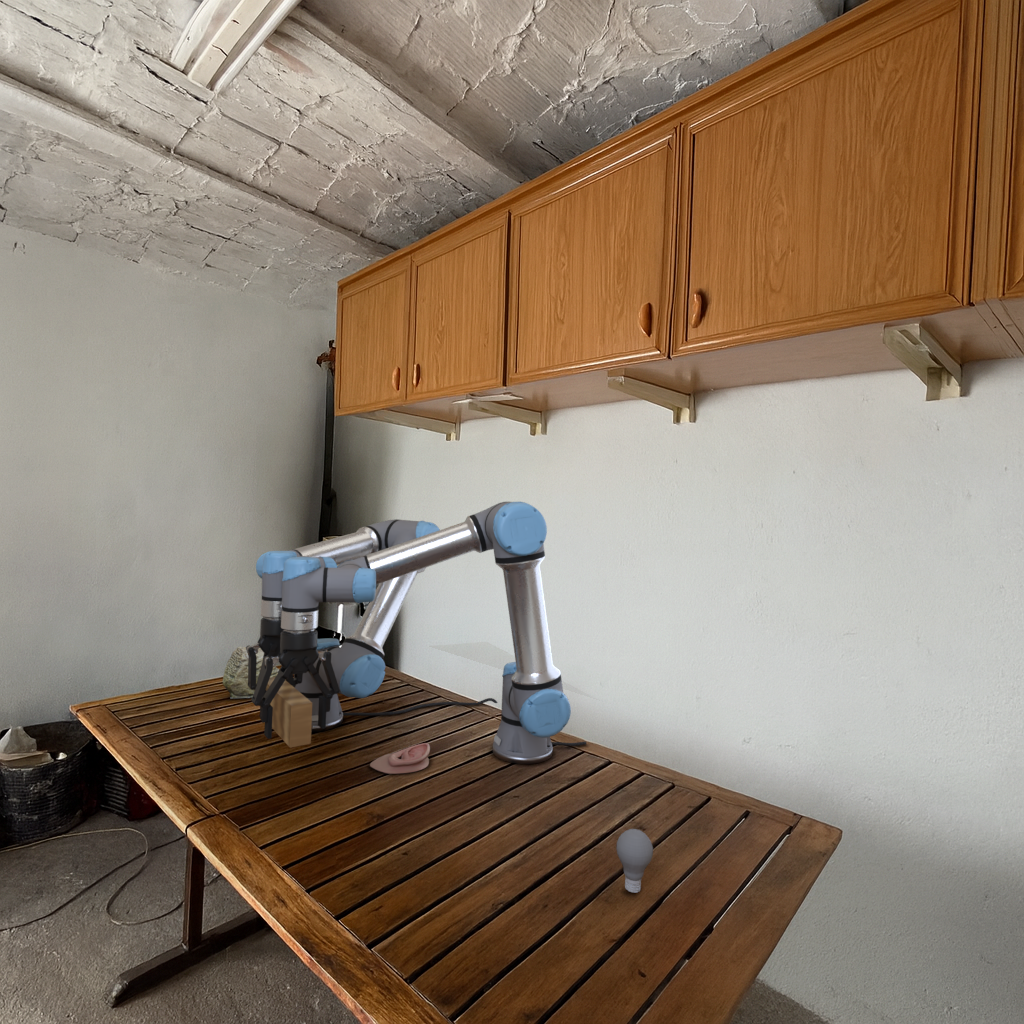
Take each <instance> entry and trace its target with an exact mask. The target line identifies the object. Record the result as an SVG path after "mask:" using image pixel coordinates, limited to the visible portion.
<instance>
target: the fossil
mask: <svg viewBox="0 0 1024 1024" xmlns="http://www.w3.org/2000/svg"><path fill="white" fill-rule="evenodd" d="M246 647H247V646H246ZM246 647H245V646H238V647H237V648H236V649H235V650H233V651H232V653H231V656H230V657H229V659H228V660H227V663H226V666H225V668H224V671H223V675H222V676H223V677H222V685H223V687H224V688H225V690H226V691H228V693H229V698H230V699H252V697H253V694H254V691H255V690H251V689H250V688H249V687H248V653H247V650H246ZM263 655H264V652H263V651H262V650H261V648H259V649H258V653H257V654H256V657H257V666H256V684H257V680H258V677H259V673H260V669H261V665H262V662H263ZM279 669H280V668H278V667H277V665H276V666H275V667H273V670H272V673H271V676H270V678H272V677H276V676H277V674H278V671H279Z"/></svg>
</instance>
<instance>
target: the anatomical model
mask: <svg viewBox="0 0 1024 1024" xmlns="http://www.w3.org/2000/svg"><path fill="white" fill-rule="evenodd" d="M430 751H431V745H430V744H429V743H427V742H424V743H423V742H422V743H419V744H415V745H412V746H408V747H406V748H403V749H401V750H397V751H395V752H392V753H387V754H384V755H382V756H380V757H377V758H376V759H374V760H373V761H371V762H370V763H369V767H370V768H372V769H373V770H375V771H378V772H380V773H384V774H389V775H390V774H391V775H392V774H395V775H396V774H409V773H414V772H418V771H421V770H424V769H426V768H427V767H429V764H430V759H429V755H430Z"/></svg>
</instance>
